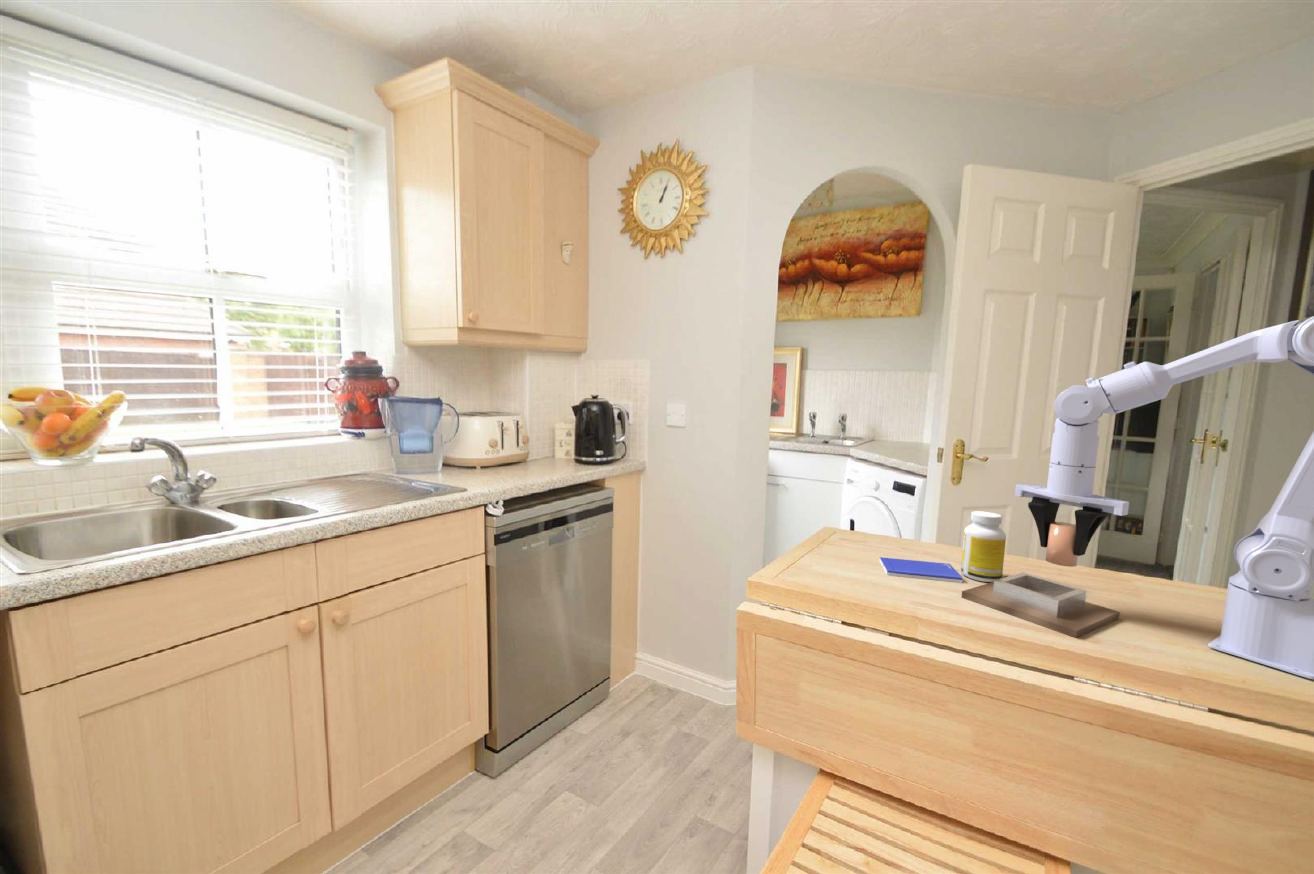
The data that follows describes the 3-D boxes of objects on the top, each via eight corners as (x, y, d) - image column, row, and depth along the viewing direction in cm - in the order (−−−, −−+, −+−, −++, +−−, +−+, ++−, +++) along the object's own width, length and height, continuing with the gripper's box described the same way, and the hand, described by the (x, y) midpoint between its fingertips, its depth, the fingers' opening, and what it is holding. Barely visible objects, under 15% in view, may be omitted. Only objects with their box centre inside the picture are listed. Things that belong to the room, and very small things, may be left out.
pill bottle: (1007, 585, 96) (1014, 519, 95) (967, 581, 98) (973, 516, 96) (993, 572, 103) (999, 511, 101) (955, 569, 104) (960, 508, 103)
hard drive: (949, 562, 105) (879, 556, 107) (963, 577, 97) (887, 569, 99) (948, 570, 105) (878, 563, 107) (962, 585, 97) (886, 578, 99)
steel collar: (1084, 606, 85) (1086, 590, 85) (1056, 617, 81) (1058, 601, 80) (1021, 586, 93) (1023, 572, 93) (992, 596, 88) (994, 580, 88)
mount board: (1118, 618, 84) (1119, 611, 84) (1075, 637, 76) (1076, 630, 76) (1006, 583, 97) (1007, 577, 97) (961, 597, 90) (962, 591, 90)
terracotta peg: (1081, 564, 86) (1086, 526, 86) (1069, 567, 84) (1073, 529, 84) (1053, 556, 90) (1057, 520, 89) (1040, 560, 88) (1044, 523, 87)
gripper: (1142, 470, 81) (1130, 560, 83) (1034, 457, 94) (1025, 535, 95) (1121, 473, 78) (1109, 567, 79) (1012, 458, 90) (1003, 540, 91)
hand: (1062, 550), depth 87 cm, fingers closed on terracotta peg, 4 cm apart
